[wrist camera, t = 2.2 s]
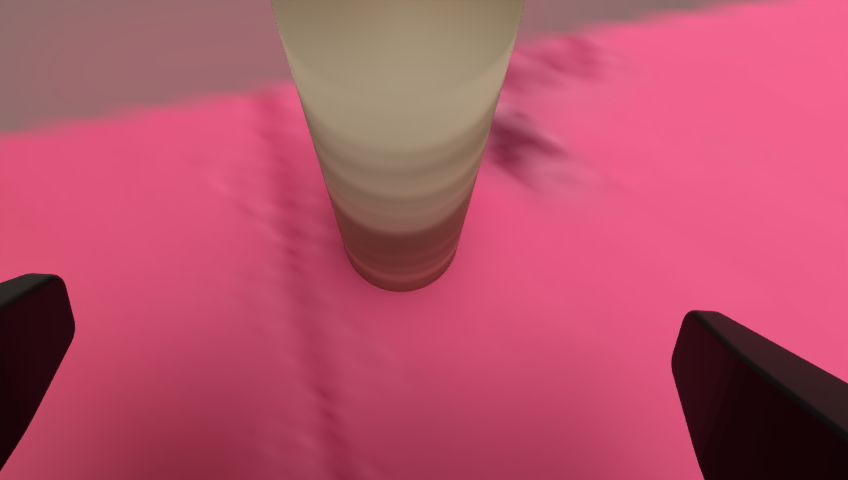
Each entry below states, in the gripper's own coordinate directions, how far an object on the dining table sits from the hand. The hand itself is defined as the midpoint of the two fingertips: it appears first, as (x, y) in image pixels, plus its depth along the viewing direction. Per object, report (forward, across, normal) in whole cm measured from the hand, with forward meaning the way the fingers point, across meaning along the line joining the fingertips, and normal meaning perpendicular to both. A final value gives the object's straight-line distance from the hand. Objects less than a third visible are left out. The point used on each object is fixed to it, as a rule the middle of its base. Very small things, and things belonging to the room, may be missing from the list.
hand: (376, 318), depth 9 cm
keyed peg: (+12, 0, +5) cm, 13 cm away
